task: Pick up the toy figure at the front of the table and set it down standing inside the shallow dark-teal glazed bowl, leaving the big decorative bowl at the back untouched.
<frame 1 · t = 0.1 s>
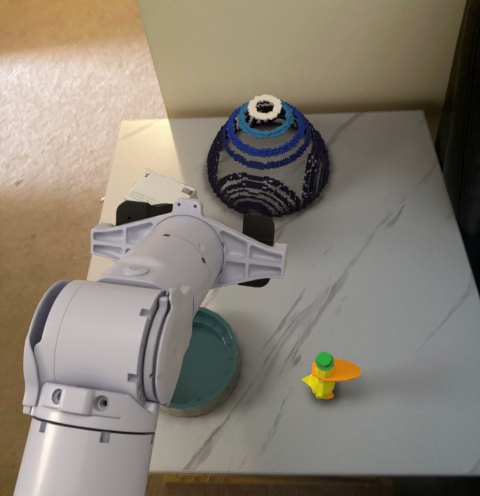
hand: (212, 219, 50), 32 cm above the table, tool tilted 50°, fingers open, 7 cm apart
cosmetic box: (176, 249, 86), on the table
decorative bowl: (268, 168, 94), on the table
toy figure: (326, 392, 71), on the table
glazed bowl: (190, 365, 75), on the table
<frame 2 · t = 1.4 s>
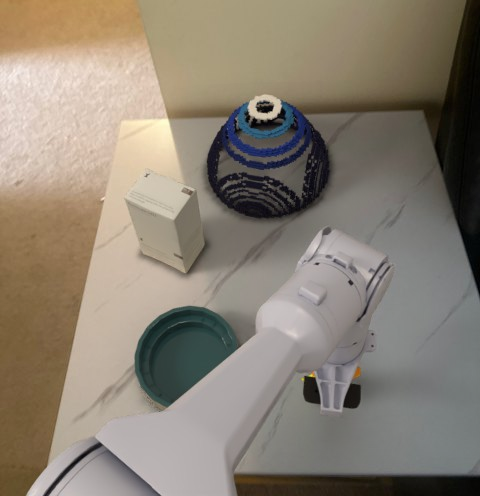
hand: (330, 366, 64), 10 cm above the table, tool pointing down, fingers open, 7 cm apart
nothing on the table moved.
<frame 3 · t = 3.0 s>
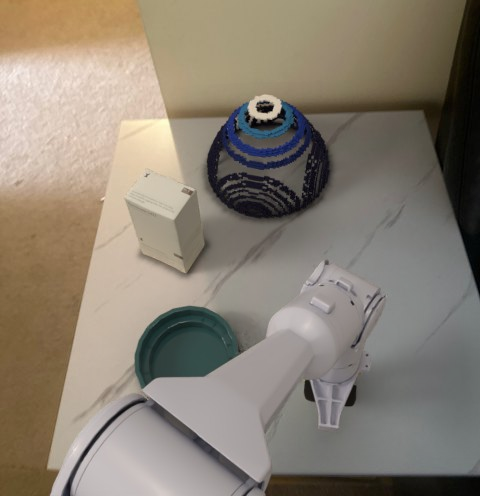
hand: (328, 382, 68), 4 cm above the table, tool pointing down, fingers closed on toy figure, 3 cm apart
toy figure: (327, 392, 71), on the table, touching gripper
everything else where it was.
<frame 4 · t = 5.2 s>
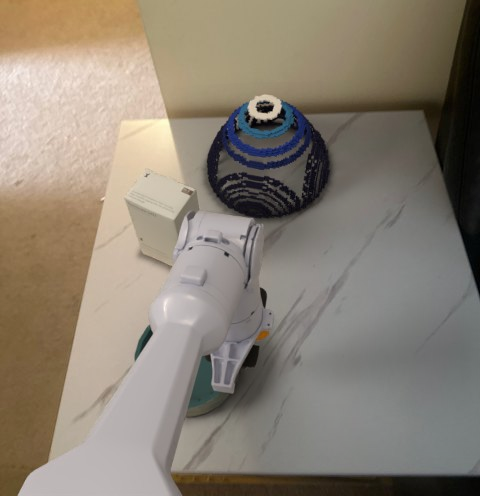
hand: (240, 347, 65), 10 cm above the table, tool pointing down, fingers closed on toy figure, 3 cm apart
toy figure: (243, 359, 68), point 6 cm above the table, touching gripper
everything else where it was.
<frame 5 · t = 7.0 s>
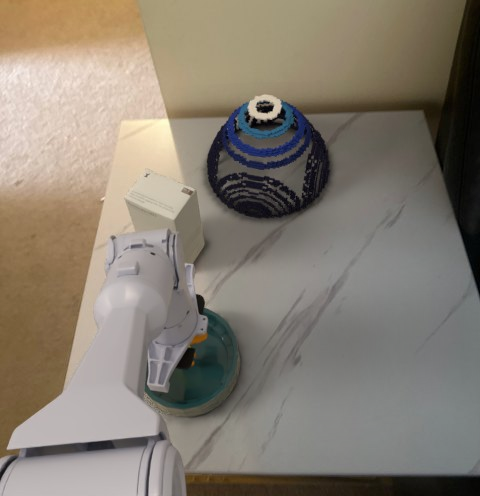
hand: (184, 349, 70), 6 cm above the table, tool pointing down, fingers closed on toy figure, 3 cm apart
toy figure: (189, 360, 73), point 2 cm above the table, touching gripper
everything else where it was.
when the fingers open (4 cm above the table, at t = 7.8 s): toy figure stays where it is, resting on glazed bowl.
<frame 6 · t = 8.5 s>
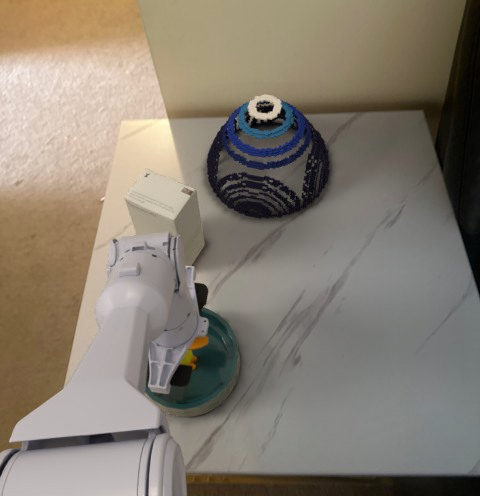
hand: (184, 351, 71), 5 cm above the table, tool pointing down, fingers open, 7 cm apart
toy figure: (190, 364, 74), resting on glazed bowl
everything else where it was.
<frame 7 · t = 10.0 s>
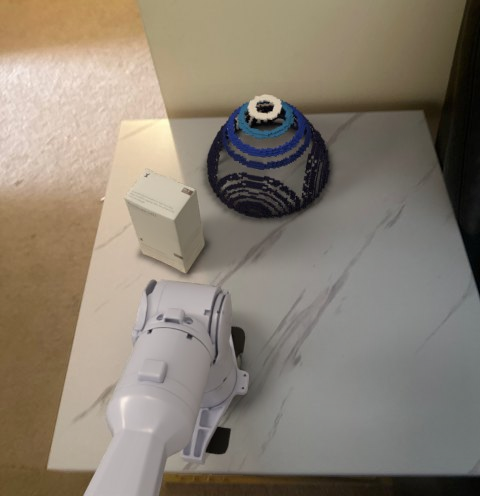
hand: (216, 403, 61), 10 cm above the table, tool pointing down, fingers open, 7 cm apart
nothing on the table moved.
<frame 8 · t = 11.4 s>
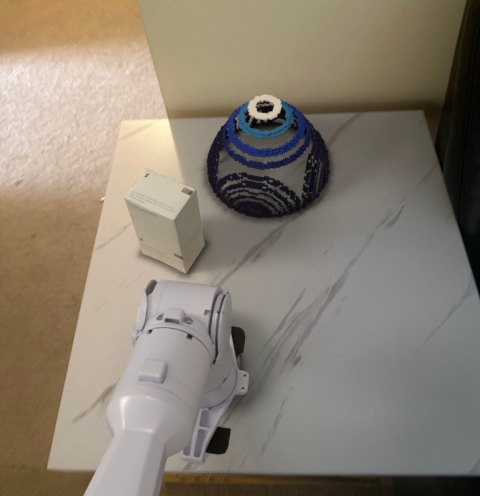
hand: (217, 403, 61), 10 cm above the table, tool pointing down, fingers open, 7 cm apart
nothing on the table moved.
at the end: toy figure inside the target area in the glazed bowl (0.1 cm from its centre), point 0.3 cm above the glazed bowl's base; the gripper is holding nothing; decorative bowl moved 0.2 cm from its start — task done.
